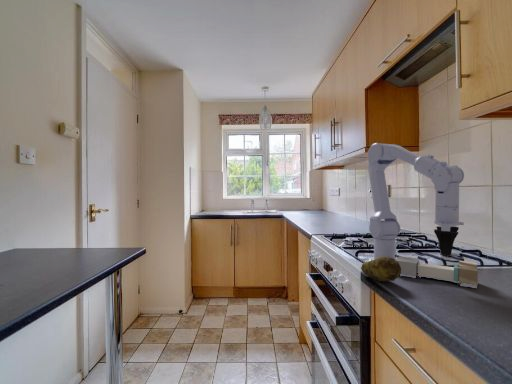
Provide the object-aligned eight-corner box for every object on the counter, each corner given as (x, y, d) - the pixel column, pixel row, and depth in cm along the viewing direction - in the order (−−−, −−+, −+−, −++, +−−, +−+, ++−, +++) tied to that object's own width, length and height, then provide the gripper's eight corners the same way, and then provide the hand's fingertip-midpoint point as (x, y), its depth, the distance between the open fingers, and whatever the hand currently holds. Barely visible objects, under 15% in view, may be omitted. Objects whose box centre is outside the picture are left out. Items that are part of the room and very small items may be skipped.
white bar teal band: (419, 273, 88) (419, 259, 87) (466, 280, 80) (466, 265, 80) (417, 277, 83) (417, 262, 83) (467, 285, 76) (467, 269, 76)
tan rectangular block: (459, 279, 82) (459, 260, 82) (476, 282, 80) (476, 262, 79) (459, 286, 77) (459, 265, 77) (477, 289, 74) (477, 268, 74)
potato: (385, 274, 87) (385, 249, 87) (406, 290, 74) (406, 260, 74) (358, 274, 87) (358, 249, 87) (374, 289, 75) (374, 260, 74)
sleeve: (398, 270, 92) (398, 256, 92) (418, 273, 88) (418, 258, 88) (394, 275, 87) (394, 260, 86) (416, 278, 83) (416, 263, 83)
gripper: (464, 208, 73) (463, 259, 73) (463, 205, 84) (463, 249, 84) (432, 207, 77) (432, 255, 77) (436, 204, 88) (436, 246, 89)
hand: (446, 252), depth 81 cm, fingers open, 7 cm apart
